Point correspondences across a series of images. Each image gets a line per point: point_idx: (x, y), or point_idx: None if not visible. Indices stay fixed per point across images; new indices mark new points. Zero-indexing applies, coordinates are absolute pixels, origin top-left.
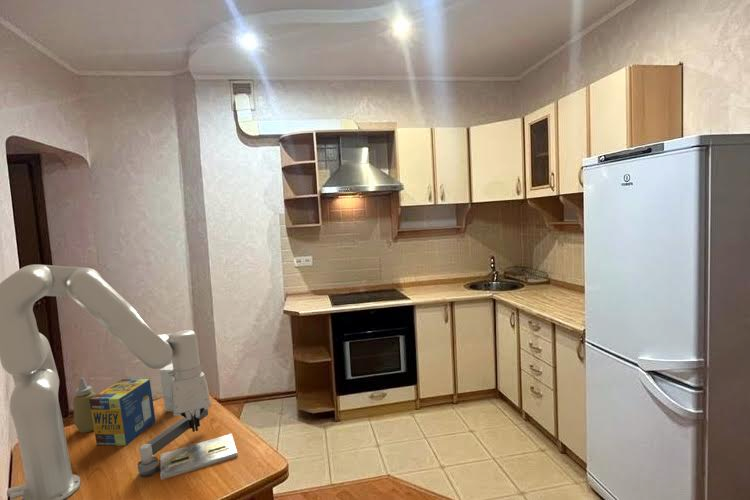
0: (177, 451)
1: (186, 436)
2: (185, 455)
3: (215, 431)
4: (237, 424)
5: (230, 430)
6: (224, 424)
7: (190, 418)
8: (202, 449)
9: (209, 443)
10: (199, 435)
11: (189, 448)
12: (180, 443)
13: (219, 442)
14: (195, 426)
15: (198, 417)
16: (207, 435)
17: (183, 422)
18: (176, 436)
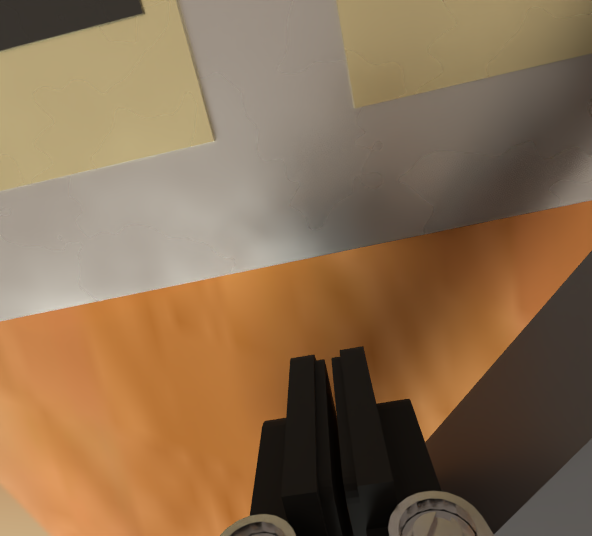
0: (511, 164)
1: None
2: (413, 5)
3: (194, 455)
4: (23, 497)
5: (59, 427)
6: (139, 532)
7: (408, 524)
8: (230, 98)
9: (175, 207)
10: None
11: (383, 180)
12: (482, 371)
13: (55, 172)
14: (319, 394)
15: (244, 522)
16: (253, 417)
17: (529, 503)
18: (585, 280)
